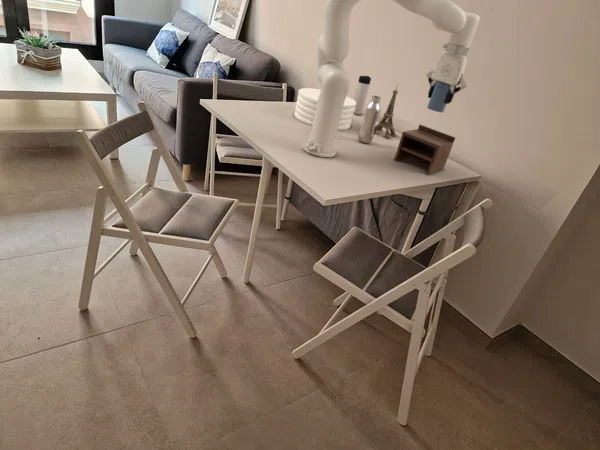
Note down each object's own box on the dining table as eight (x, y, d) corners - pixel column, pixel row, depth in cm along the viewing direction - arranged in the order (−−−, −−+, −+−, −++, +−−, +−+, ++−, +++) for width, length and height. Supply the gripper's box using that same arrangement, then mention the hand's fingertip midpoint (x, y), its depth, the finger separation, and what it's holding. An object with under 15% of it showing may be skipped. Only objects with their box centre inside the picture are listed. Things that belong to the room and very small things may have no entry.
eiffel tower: (377, 129, 210) (392, 78, 198) (396, 135, 206) (413, 84, 194) (368, 131, 202) (383, 78, 190) (388, 139, 197) (405, 85, 185)
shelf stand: (428, 175, 163) (441, 141, 156) (393, 160, 171) (404, 127, 165) (443, 169, 173) (455, 137, 167) (409, 155, 181) (420, 124, 175)
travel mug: (363, 114, 232) (373, 77, 222) (358, 116, 226) (368, 78, 217) (353, 111, 234) (362, 74, 224) (348, 112, 229) (357, 75, 219)
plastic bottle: (371, 146, 182) (384, 100, 173) (356, 142, 183) (368, 96, 173) (371, 142, 188) (384, 97, 178) (357, 138, 188) (369, 93, 179)
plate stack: (351, 119, 216) (356, 97, 211) (349, 134, 192) (356, 109, 186) (298, 107, 217) (302, 84, 211) (290, 120, 192) (294, 95, 187)
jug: (438, 113, 155) (448, 85, 151) (422, 107, 158) (432, 80, 154) (448, 111, 163) (458, 85, 158) (434, 106, 166) (443, 80, 161)
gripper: (430, 44, 151) (414, 93, 160) (476, 56, 143) (455, 108, 151) (439, 45, 157) (422, 93, 165) (483, 57, 148) (463, 107, 157)
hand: (438, 100), depth 158 cm, fingers closed on jug, 6 cm apart
